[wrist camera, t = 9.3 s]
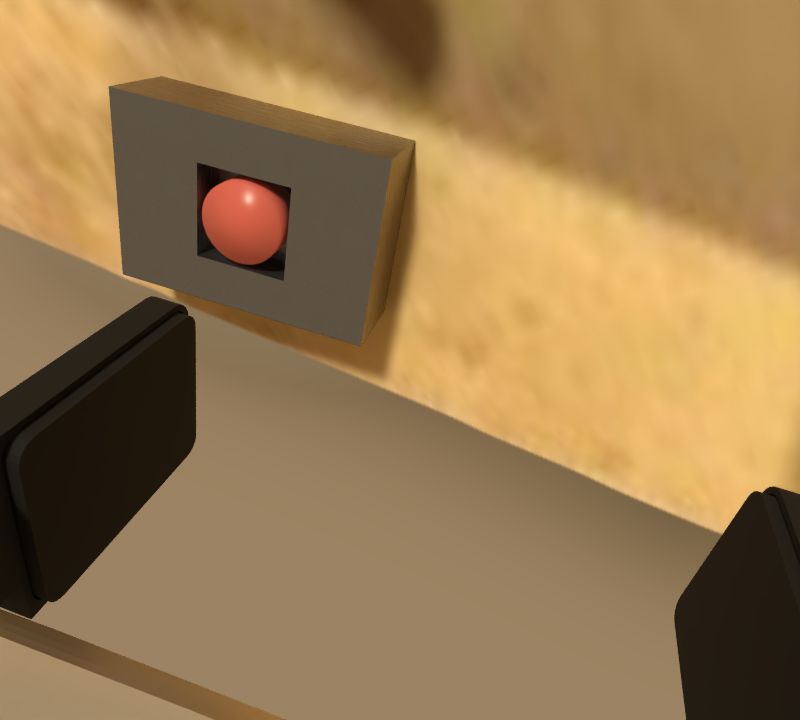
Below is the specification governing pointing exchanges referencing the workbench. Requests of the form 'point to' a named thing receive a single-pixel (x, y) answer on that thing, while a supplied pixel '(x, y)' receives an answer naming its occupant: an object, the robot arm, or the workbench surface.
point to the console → (273, 162)
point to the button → (247, 218)
